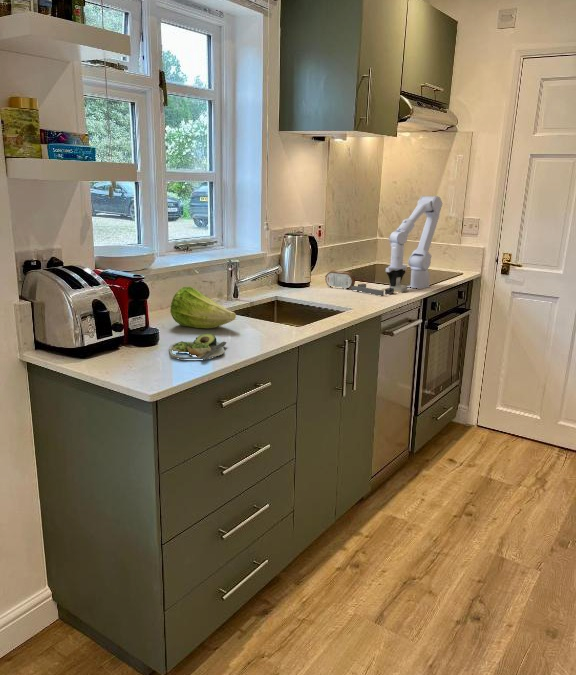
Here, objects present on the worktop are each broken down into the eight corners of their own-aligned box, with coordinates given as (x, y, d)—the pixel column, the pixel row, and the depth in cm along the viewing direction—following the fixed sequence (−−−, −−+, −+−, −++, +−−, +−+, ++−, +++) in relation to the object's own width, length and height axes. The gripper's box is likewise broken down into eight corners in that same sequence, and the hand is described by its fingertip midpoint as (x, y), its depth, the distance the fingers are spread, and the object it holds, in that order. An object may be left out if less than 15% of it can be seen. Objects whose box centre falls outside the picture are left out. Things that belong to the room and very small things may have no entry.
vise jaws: (361, 288, 282) (361, 283, 282) (394, 293, 269) (395, 288, 268) (349, 290, 276) (349, 285, 275) (383, 296, 263) (383, 291, 262)
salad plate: (231, 363, 168) (231, 347, 167) (169, 366, 165) (168, 350, 163) (225, 344, 186) (225, 331, 185) (169, 347, 183) (168, 333, 182)
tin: (355, 289, 279) (355, 272, 277) (352, 290, 277) (353, 273, 274) (327, 286, 287) (327, 269, 284) (324, 287, 284) (324, 270, 282)
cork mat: (391, 288, 283) (391, 287, 283) (408, 290, 276) (408, 290, 276) (381, 290, 278) (381, 289, 278) (399, 293, 271) (399, 292, 271)
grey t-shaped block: (393, 288, 280) (394, 276, 278) (406, 290, 274) (407, 278, 273) (389, 289, 277) (389, 277, 275) (402, 291, 272) (403, 279, 270)
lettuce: (246, 330, 207) (221, 343, 195) (192, 317, 218) (165, 329, 206) (246, 291, 202) (221, 302, 190) (190, 280, 213) (163, 290, 201)
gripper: (398, 255, 280) (397, 282, 284) (380, 257, 271) (379, 286, 274) (411, 256, 276) (409, 284, 279) (393, 259, 266) (391, 288, 269)
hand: (395, 285), depth 276 cm, fingers closed on grey t-shaped block, 3 cm apart
